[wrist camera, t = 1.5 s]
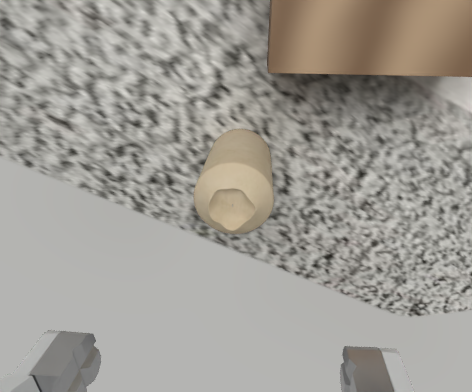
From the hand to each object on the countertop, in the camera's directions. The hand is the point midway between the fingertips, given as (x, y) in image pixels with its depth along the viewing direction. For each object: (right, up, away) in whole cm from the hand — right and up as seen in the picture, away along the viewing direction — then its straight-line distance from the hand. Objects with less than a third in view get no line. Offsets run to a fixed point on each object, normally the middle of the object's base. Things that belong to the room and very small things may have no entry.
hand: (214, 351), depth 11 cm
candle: (+1, +9, +20) cm, 22 cm away
